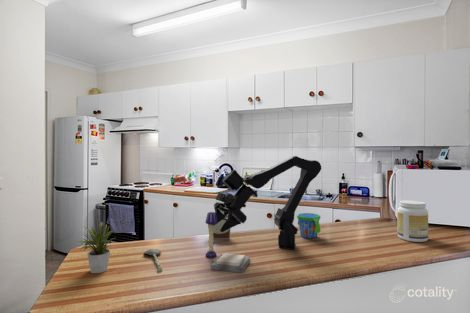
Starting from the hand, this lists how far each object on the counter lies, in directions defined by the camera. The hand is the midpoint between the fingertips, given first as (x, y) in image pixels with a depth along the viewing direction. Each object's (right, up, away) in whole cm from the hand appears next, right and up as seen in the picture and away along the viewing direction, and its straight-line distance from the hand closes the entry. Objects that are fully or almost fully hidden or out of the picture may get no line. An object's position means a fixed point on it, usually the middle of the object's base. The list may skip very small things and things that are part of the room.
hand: (215, 228), depth 114 cm
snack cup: (+42, -10, +25) cm, 50 cm away
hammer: (-22, -11, -6) cm, 25 cm away
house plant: (-40, -11, -14) cm, 43 cm away
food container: (+1, -10, +25) cm, 27 cm away
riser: (+6, -10, -10) cm, 16 cm away
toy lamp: (-2, -10, -1) cm, 11 cm away
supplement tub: (+89, -10, +21) cm, 92 cm away
